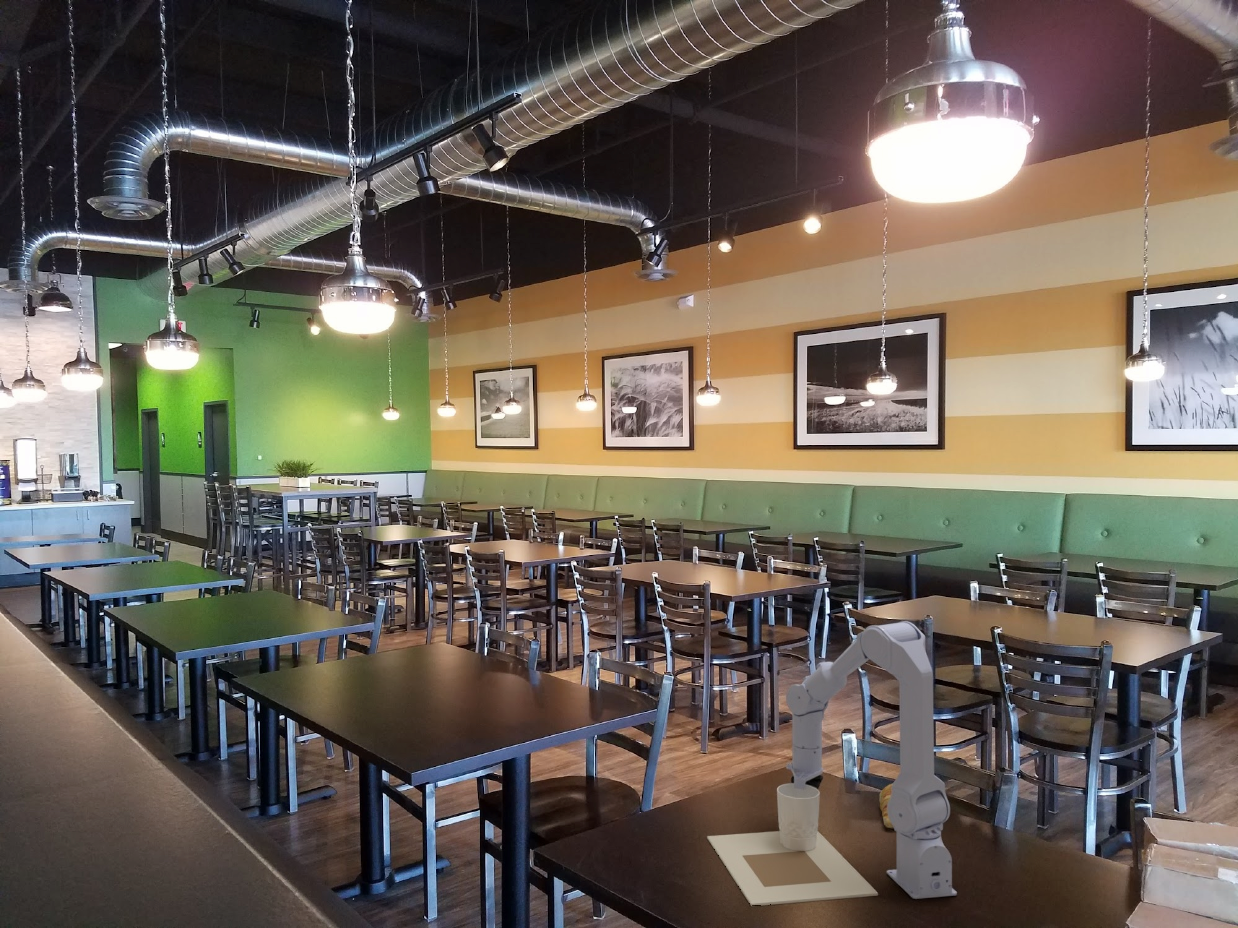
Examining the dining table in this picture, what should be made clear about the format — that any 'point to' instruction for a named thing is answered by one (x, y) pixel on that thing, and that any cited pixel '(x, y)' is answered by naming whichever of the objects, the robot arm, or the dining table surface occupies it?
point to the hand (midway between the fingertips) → (806, 813)
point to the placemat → (787, 870)
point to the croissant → (885, 804)
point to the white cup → (798, 816)
